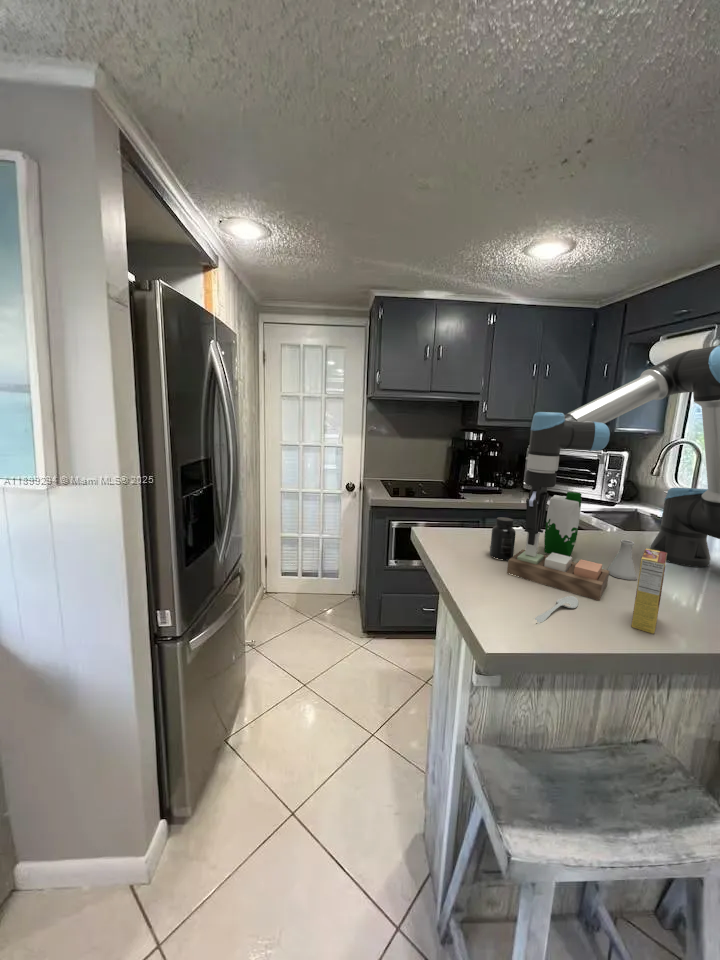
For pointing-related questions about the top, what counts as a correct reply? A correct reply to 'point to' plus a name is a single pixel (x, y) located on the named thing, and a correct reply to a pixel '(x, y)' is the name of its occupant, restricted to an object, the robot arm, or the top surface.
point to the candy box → (649, 590)
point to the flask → (623, 562)
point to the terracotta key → (588, 569)
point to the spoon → (569, 600)
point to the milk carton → (562, 523)
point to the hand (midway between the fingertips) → (530, 554)
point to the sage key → (530, 558)
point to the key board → (559, 577)
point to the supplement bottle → (503, 539)
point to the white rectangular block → (558, 562)
